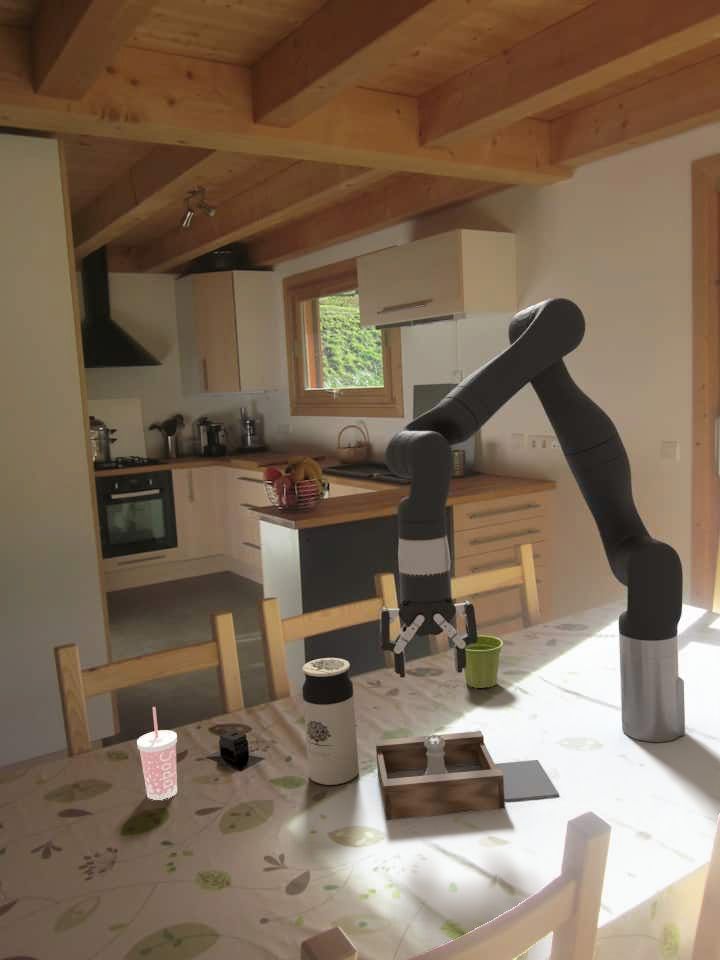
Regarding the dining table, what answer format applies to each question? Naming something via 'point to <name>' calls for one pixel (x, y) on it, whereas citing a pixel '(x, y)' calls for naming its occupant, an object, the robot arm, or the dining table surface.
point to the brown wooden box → (438, 777)
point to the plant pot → (482, 662)
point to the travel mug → (330, 721)
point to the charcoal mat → (526, 781)
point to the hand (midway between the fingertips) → (430, 673)
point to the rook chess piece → (435, 755)
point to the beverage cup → (159, 762)
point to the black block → (235, 752)
